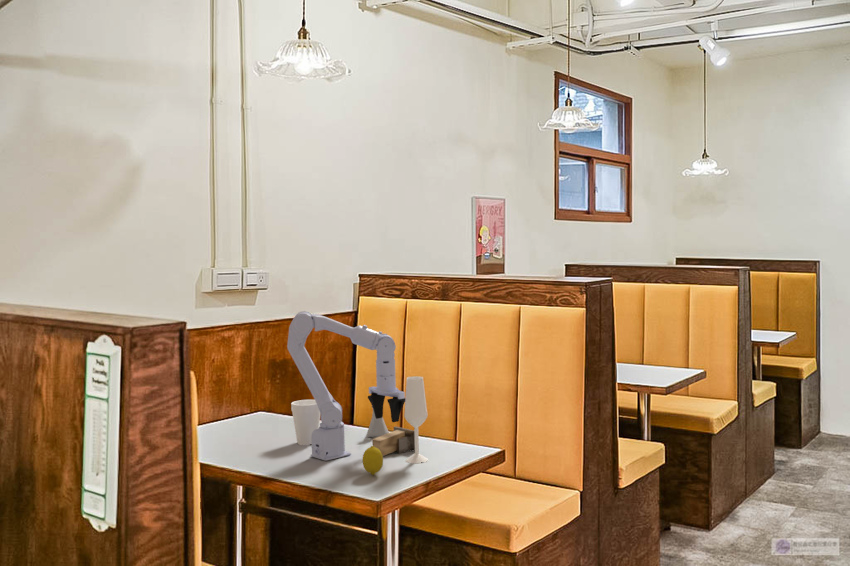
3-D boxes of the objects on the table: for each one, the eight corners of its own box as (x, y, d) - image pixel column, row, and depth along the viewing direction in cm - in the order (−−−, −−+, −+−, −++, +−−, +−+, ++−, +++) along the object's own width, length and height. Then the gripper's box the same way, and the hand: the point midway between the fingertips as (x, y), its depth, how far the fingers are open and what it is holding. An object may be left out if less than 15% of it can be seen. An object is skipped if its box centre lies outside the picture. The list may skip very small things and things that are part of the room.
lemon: (383, 471, 214) (382, 443, 213) (383, 477, 208) (382, 448, 208) (363, 472, 214) (362, 443, 213) (362, 478, 208) (361, 448, 208)
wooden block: (398, 445, 239) (397, 429, 238) (406, 446, 236) (404, 431, 236) (373, 454, 232) (372, 439, 232) (381, 456, 230) (379, 441, 229)
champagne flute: (402, 458, 227) (400, 377, 226) (423, 456, 229) (421, 375, 228) (410, 464, 220) (407, 380, 219) (432, 461, 223) (430, 378, 222)
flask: (378, 439, 251) (377, 408, 251) (362, 436, 256) (361, 406, 255) (393, 434, 257) (392, 404, 256) (376, 432, 261) (376, 402, 261)
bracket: (403, 454, 231) (402, 434, 231) (381, 449, 238) (381, 429, 238) (417, 450, 235) (417, 431, 235) (396, 445, 242) (395, 426, 242)
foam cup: (325, 444, 246) (324, 403, 246) (296, 447, 243) (295, 406, 242) (318, 437, 255) (316, 398, 255) (290, 441, 252) (288, 401, 251)
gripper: (411, 375, 231) (413, 421, 231) (380, 371, 241) (382, 414, 242) (393, 378, 226) (395, 425, 227) (362, 373, 237) (364, 418, 237)
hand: (387, 419), depth 234 cm, fingers open, 7 cm apart
